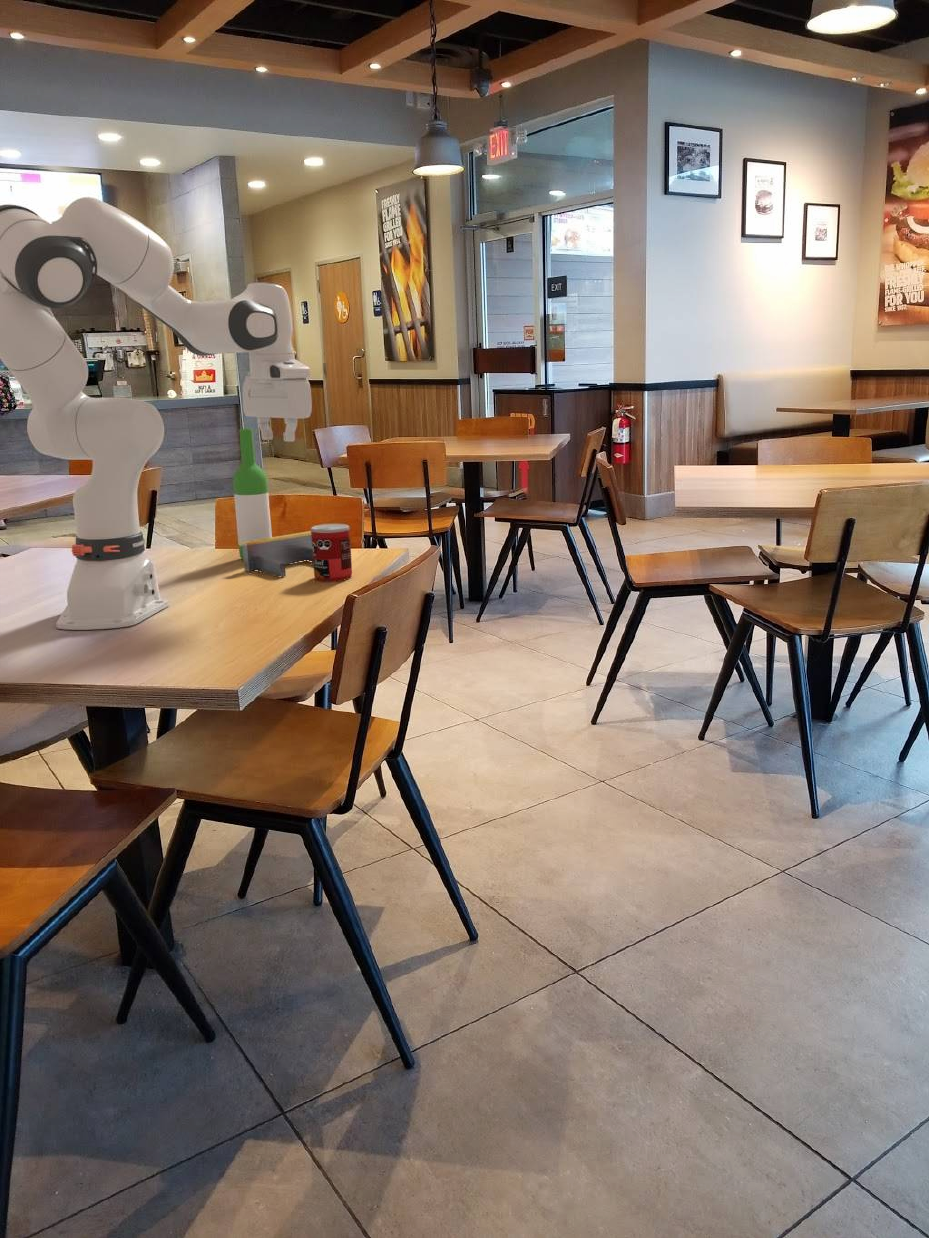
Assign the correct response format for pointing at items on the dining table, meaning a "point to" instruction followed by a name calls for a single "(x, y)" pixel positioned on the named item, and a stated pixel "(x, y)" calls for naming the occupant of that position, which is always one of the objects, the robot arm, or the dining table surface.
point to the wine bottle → (250, 495)
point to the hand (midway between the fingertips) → (278, 440)
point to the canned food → (331, 552)
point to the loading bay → (277, 552)
